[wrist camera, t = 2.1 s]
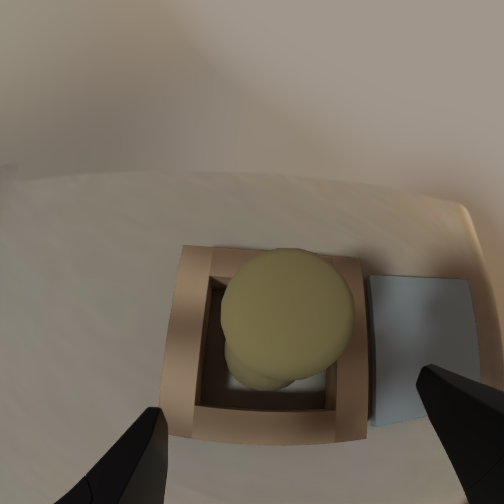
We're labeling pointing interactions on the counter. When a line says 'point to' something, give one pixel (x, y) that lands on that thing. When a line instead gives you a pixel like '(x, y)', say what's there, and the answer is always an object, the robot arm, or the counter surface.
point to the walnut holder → (244, 419)
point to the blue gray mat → (417, 339)
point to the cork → (285, 318)
